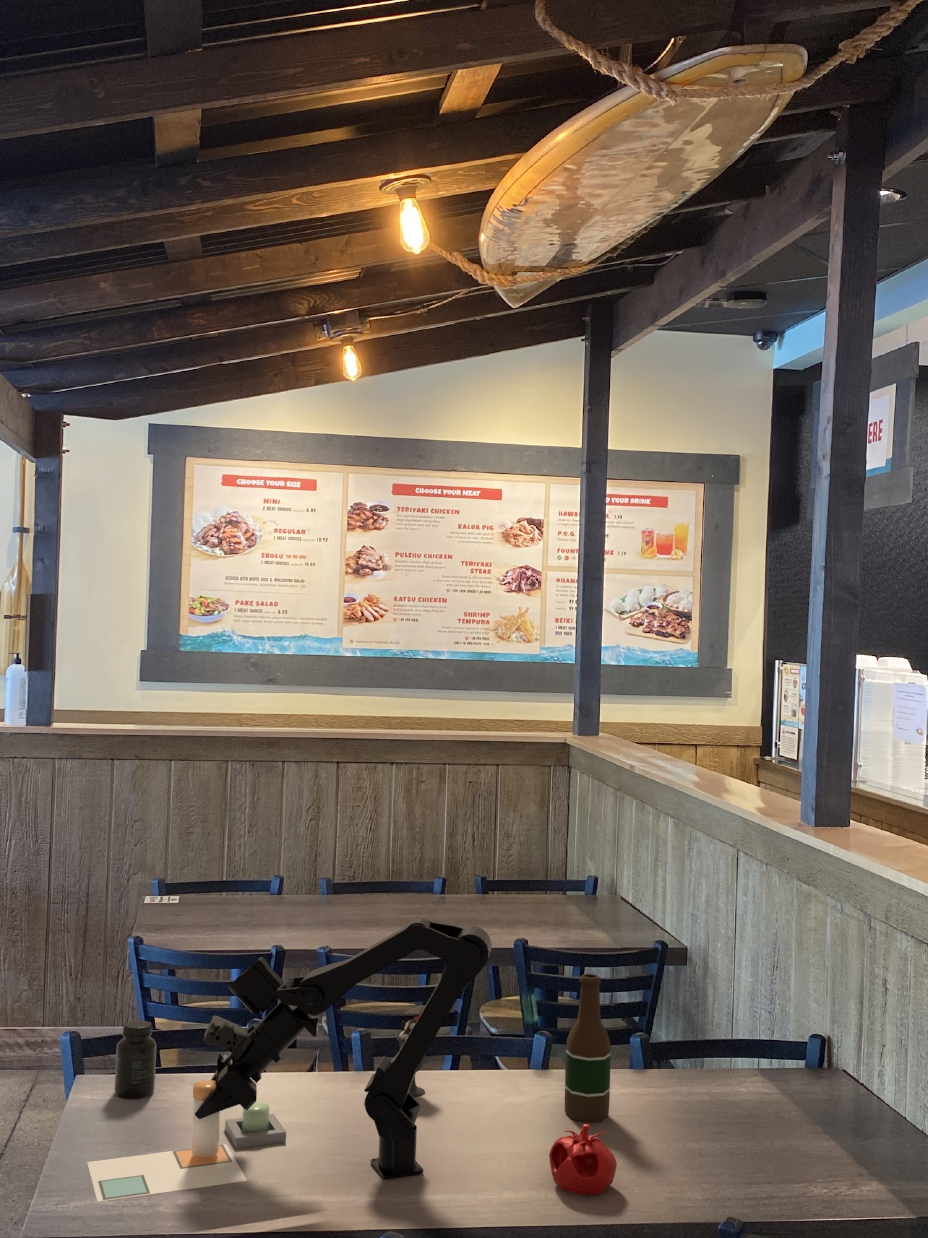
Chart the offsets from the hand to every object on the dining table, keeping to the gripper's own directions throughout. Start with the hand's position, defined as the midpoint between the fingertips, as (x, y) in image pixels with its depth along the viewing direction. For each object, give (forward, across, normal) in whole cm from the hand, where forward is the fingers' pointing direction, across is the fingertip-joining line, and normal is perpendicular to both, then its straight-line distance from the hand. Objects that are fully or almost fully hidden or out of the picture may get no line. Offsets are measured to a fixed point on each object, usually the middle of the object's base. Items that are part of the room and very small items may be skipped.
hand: (197, 1111), depth 178 cm
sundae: (-20, -27, +32) cm, 47 cm away
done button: (-2, -7, +11) cm, 13 cm away
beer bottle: (-41, -13, +53) cm, 68 cm away
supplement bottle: (+14, -32, -3) cm, 35 cm away
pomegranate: (-34, +14, +46) cm, 59 cm away
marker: (+3, 0, +5) cm, 6 cm away
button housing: (-1, -8, +12) cm, 14 cm away
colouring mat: (+8, +5, +3) cm, 10 cm away
